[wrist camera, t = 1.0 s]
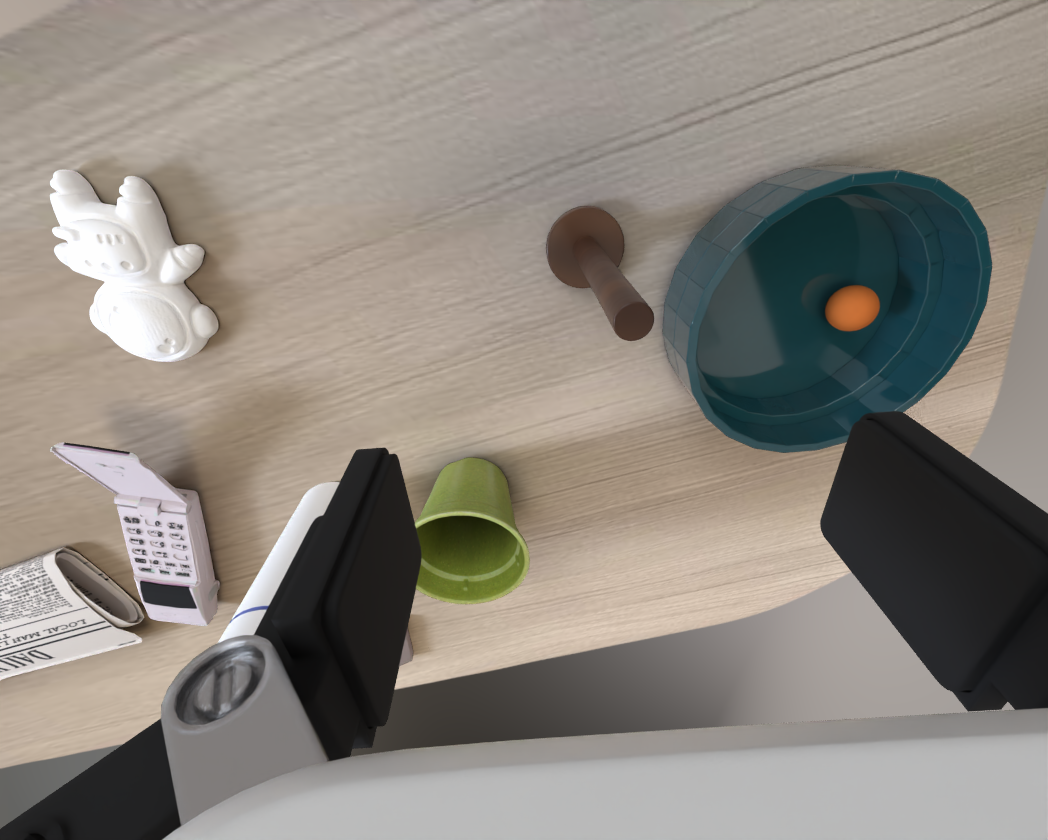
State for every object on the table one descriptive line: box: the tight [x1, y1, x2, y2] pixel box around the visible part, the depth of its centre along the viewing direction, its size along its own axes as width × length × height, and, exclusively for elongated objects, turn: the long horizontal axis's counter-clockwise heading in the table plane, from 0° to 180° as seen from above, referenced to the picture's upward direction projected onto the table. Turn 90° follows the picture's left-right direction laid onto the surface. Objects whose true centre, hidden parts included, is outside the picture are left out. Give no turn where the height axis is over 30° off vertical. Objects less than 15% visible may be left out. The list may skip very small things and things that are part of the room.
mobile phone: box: [50, 442, 220, 626], centre depth 40 cm, size 6×6×25 cm
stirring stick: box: [546, 206, 654, 341], centre depth 25 cm, size 5×5×15 cm
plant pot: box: [415, 458, 530, 604], centre depth 37 cm, size 9×9×9 cm
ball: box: [825, 285, 880, 331], centre depth 31 cm, size 3×3×3 cm
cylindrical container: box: [218, 482, 340, 643], centre depth 32 cm, size 7×7×25 cm
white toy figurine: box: [50, 169, 218, 362], centre depth 30 cm, size 9×12×3 cm
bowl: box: [663, 165, 992, 453], centre depth 31 cm, size 17×17×6 cm
